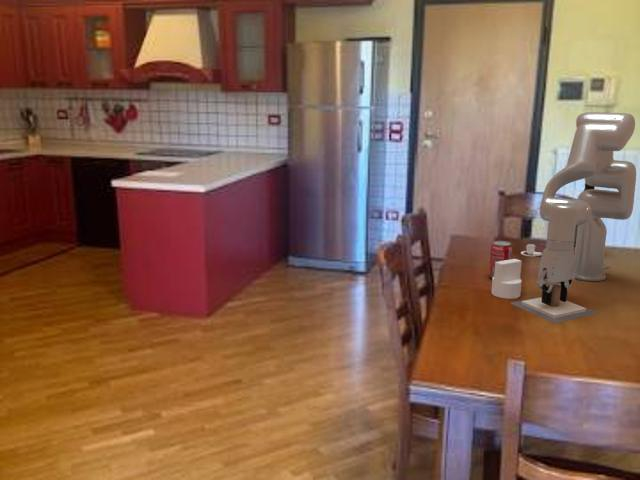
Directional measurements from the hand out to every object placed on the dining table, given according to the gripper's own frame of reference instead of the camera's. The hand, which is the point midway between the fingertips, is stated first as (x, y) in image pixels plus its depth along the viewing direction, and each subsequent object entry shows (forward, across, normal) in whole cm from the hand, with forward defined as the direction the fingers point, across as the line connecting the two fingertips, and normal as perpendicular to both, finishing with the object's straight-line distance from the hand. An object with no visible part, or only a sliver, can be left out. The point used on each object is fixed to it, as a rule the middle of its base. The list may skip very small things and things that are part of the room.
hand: (553, 301), depth 181 cm
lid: (+2, 0, 0) cm, 2 cm away
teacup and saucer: (+4, -40, -50) cm, 64 cm away
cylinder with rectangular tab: (+3, +4, -16) cm, 17 cm away
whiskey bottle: (+3, -60, -41) cm, 73 cm away
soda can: (+3, -8, -32) cm, 33 cm away
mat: (+3, 0, 0) cm, 3 cm away
